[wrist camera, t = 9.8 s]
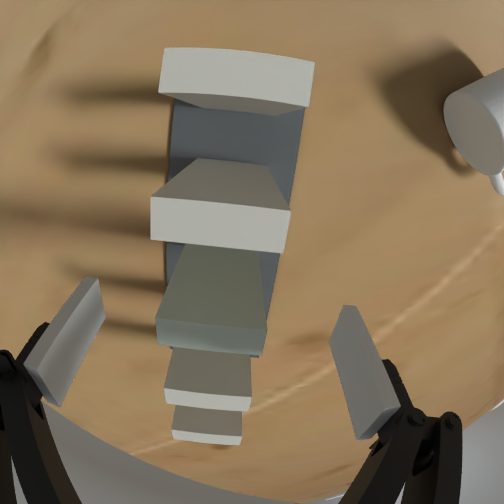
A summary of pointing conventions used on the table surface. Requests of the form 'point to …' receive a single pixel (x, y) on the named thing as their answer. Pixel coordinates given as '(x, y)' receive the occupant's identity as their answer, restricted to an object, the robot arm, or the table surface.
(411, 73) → the table surface
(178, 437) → the tile
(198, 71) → the tile
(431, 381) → the table surface
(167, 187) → the tile
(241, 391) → the tile
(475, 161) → the mug
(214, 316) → the tile
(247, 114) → the strip
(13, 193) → the table surface
